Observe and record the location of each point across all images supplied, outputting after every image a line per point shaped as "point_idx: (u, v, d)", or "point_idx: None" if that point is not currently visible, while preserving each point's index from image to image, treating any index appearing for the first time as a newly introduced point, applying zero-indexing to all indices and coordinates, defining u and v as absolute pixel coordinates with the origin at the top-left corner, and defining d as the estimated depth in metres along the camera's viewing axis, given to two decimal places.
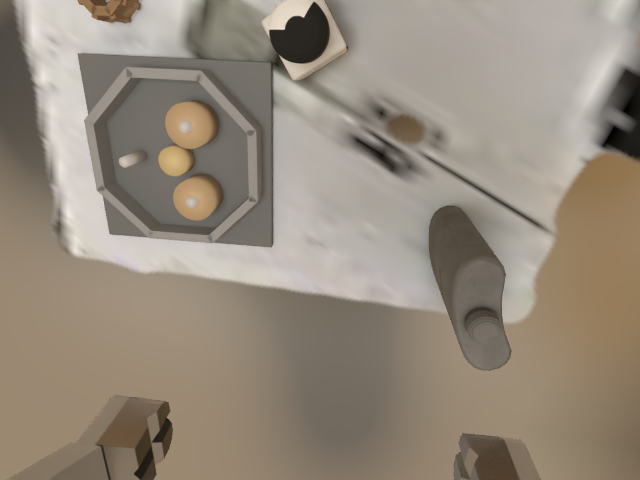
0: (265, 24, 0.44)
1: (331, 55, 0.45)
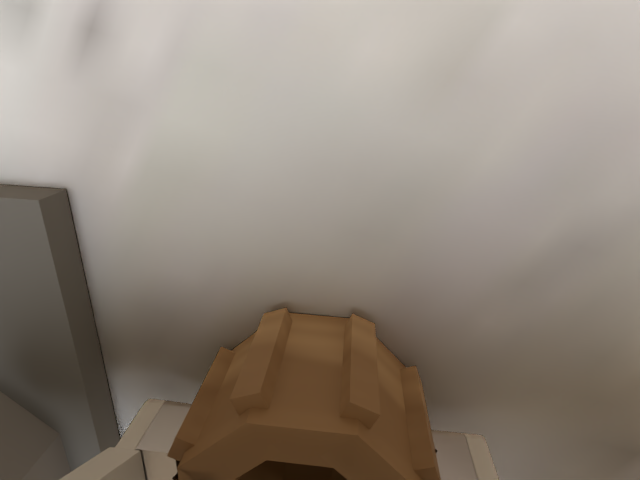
0: None
1: None
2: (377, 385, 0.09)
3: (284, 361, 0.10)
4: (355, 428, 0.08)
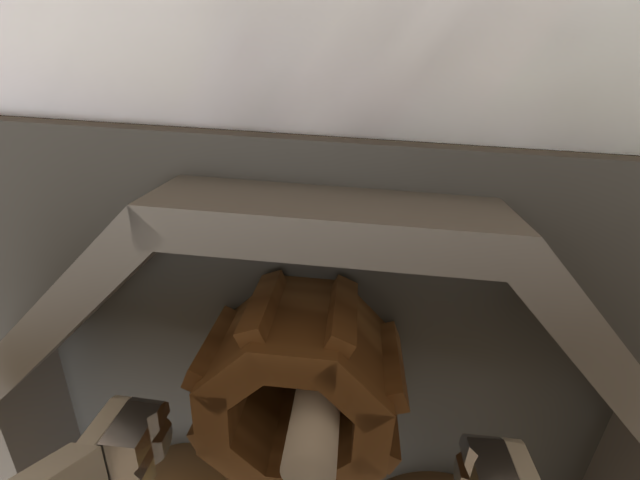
0: None
1: None
2: (356, 327, 0.11)
3: (279, 310, 0.11)
4: (336, 357, 0.10)
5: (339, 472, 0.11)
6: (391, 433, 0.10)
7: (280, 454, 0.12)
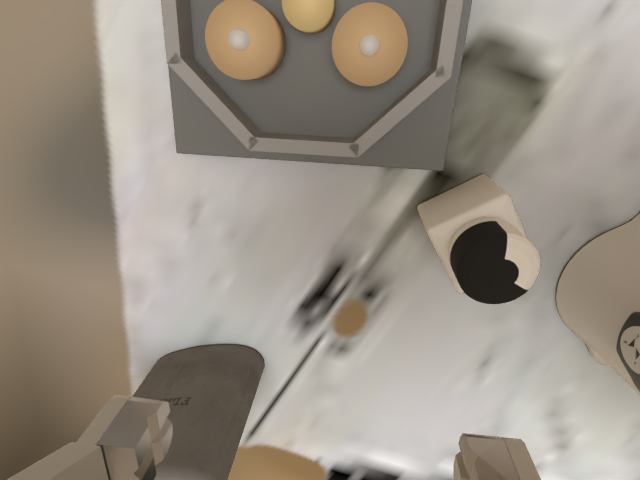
0: (503, 200, 0.32)
1: (451, 278, 0.35)
2: None
3: None
4: None
5: None
6: None
7: None
